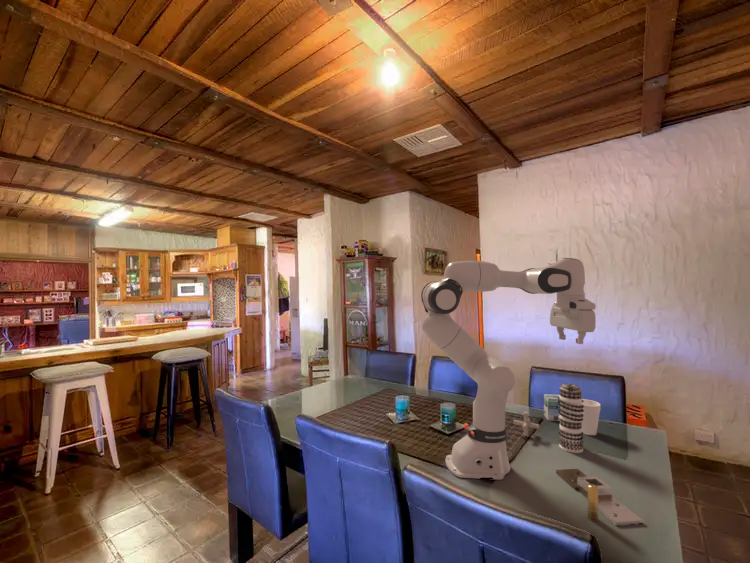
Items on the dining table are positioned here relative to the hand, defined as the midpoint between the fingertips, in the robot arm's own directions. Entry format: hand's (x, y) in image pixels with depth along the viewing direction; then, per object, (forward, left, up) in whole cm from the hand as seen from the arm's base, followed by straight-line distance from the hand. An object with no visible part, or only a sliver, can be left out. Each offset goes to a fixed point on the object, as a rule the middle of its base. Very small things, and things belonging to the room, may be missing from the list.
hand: (570, 341), depth 124 cm
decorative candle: (+9, +13, -45) cm, 47 cm away
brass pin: (-12, -27, -45) cm, 54 cm away
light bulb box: (+22, +42, -45) cm, 65 cm away
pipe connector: (-3, +25, -45) cm, 51 cm away
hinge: (-4, -17, -45) cm, 48 cm away
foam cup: (+26, +26, -45) cm, 58 cm away
